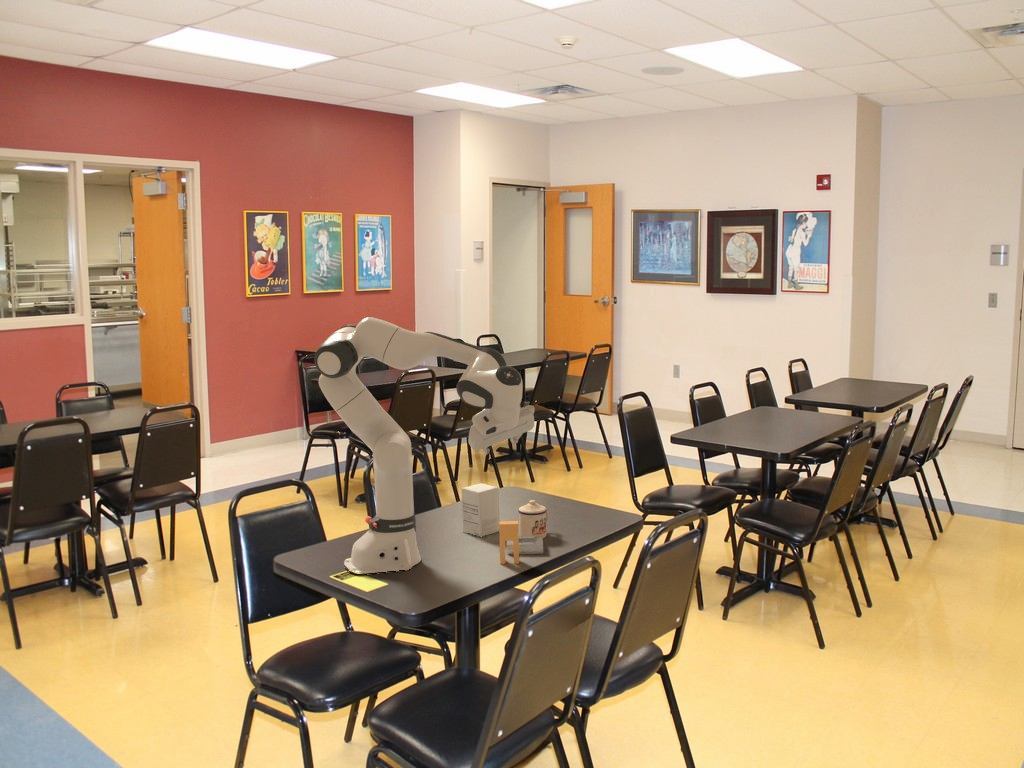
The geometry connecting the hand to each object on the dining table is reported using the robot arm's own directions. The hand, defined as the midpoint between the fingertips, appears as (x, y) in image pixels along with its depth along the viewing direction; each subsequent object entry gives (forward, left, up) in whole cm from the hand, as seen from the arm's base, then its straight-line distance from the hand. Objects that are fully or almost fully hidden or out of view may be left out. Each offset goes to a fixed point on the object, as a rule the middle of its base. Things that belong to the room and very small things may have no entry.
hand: (500, 447), depth 257 cm
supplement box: (+6, +29, -34) cm, 45 cm away
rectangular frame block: (+10, +5, -34) cm, 36 cm away
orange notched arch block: (+1, -3, -34) cm, 34 cm away
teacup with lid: (+20, +17, -34) cm, 43 cm away
